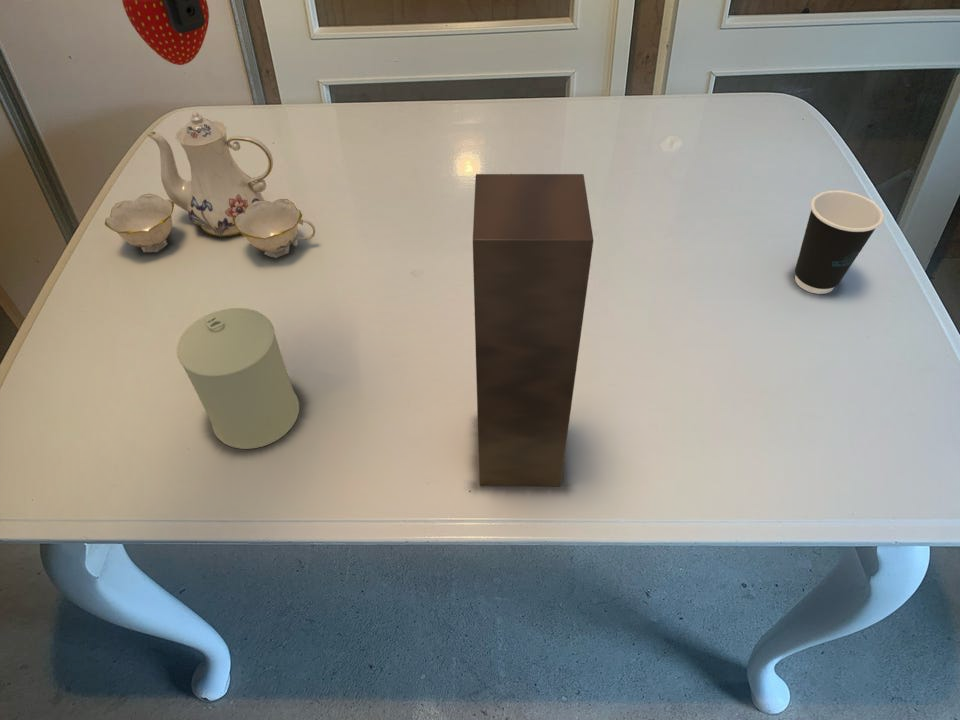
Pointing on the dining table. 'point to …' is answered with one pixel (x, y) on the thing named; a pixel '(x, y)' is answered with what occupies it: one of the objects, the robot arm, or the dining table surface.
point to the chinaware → (209, 195)
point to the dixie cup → (834, 238)
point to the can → (239, 377)
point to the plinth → (528, 320)
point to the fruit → (165, 30)
